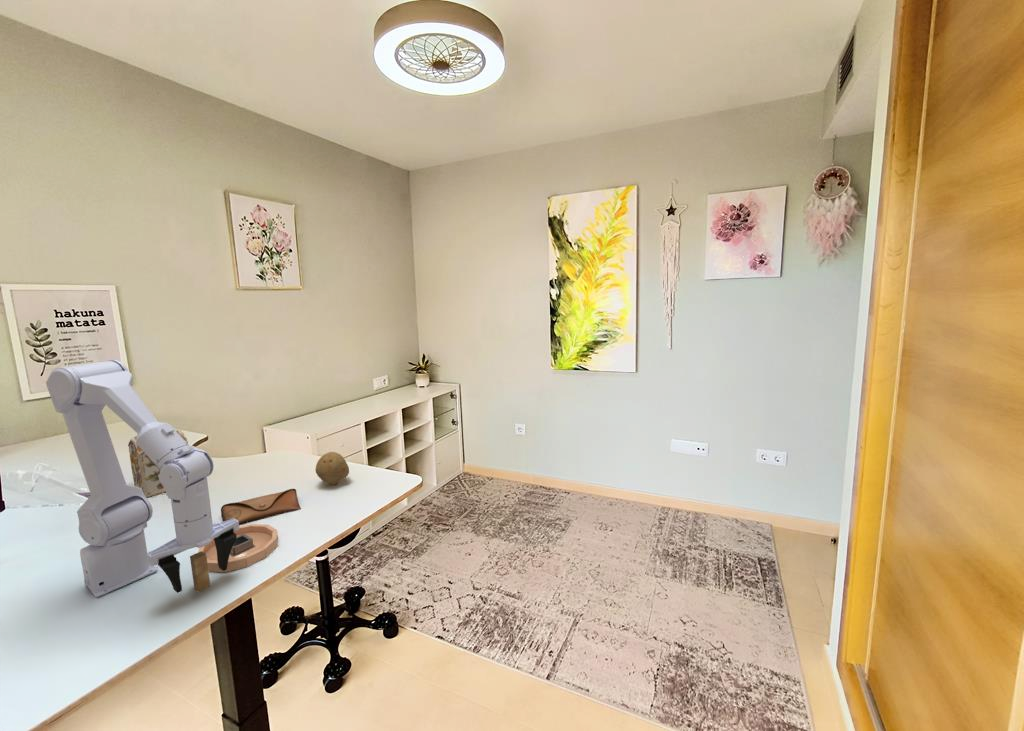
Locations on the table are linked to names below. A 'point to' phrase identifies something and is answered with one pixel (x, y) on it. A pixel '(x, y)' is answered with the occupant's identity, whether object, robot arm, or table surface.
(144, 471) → the decorative jar
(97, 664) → the table surface
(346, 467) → the coconut
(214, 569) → the jar dish
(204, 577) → the brown long rectangular block
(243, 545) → the hollow square box
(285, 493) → the sunglasses case
